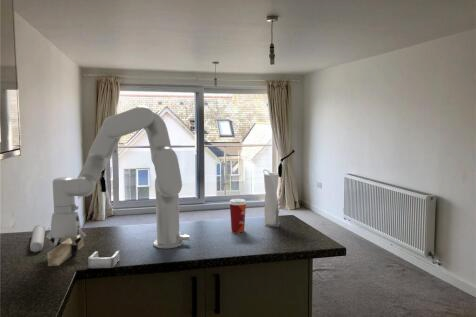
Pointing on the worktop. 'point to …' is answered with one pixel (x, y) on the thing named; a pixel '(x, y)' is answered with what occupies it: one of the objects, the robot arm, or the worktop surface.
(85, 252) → the worktop surface
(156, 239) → the robot arm
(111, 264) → the cup bracket
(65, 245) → the maple rail
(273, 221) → the white bottle gift bag
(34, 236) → the tube
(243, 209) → the coffee cup
